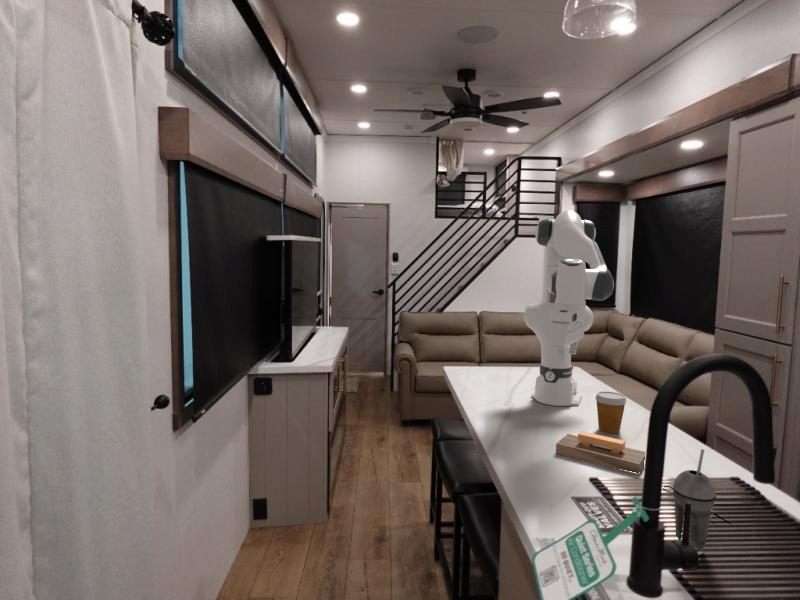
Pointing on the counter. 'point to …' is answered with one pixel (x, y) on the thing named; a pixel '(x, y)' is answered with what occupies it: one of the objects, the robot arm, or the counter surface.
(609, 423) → the disposable coffee cup
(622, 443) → the orange piece
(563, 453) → the rail
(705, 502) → the beverage cup
